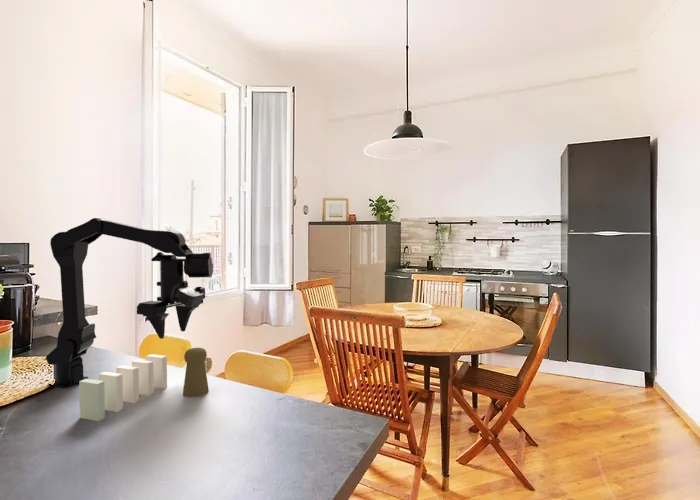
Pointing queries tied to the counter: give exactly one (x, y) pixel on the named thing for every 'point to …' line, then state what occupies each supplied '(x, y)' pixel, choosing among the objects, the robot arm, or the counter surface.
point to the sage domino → (92, 399)
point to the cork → (195, 373)
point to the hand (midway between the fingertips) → (172, 334)
